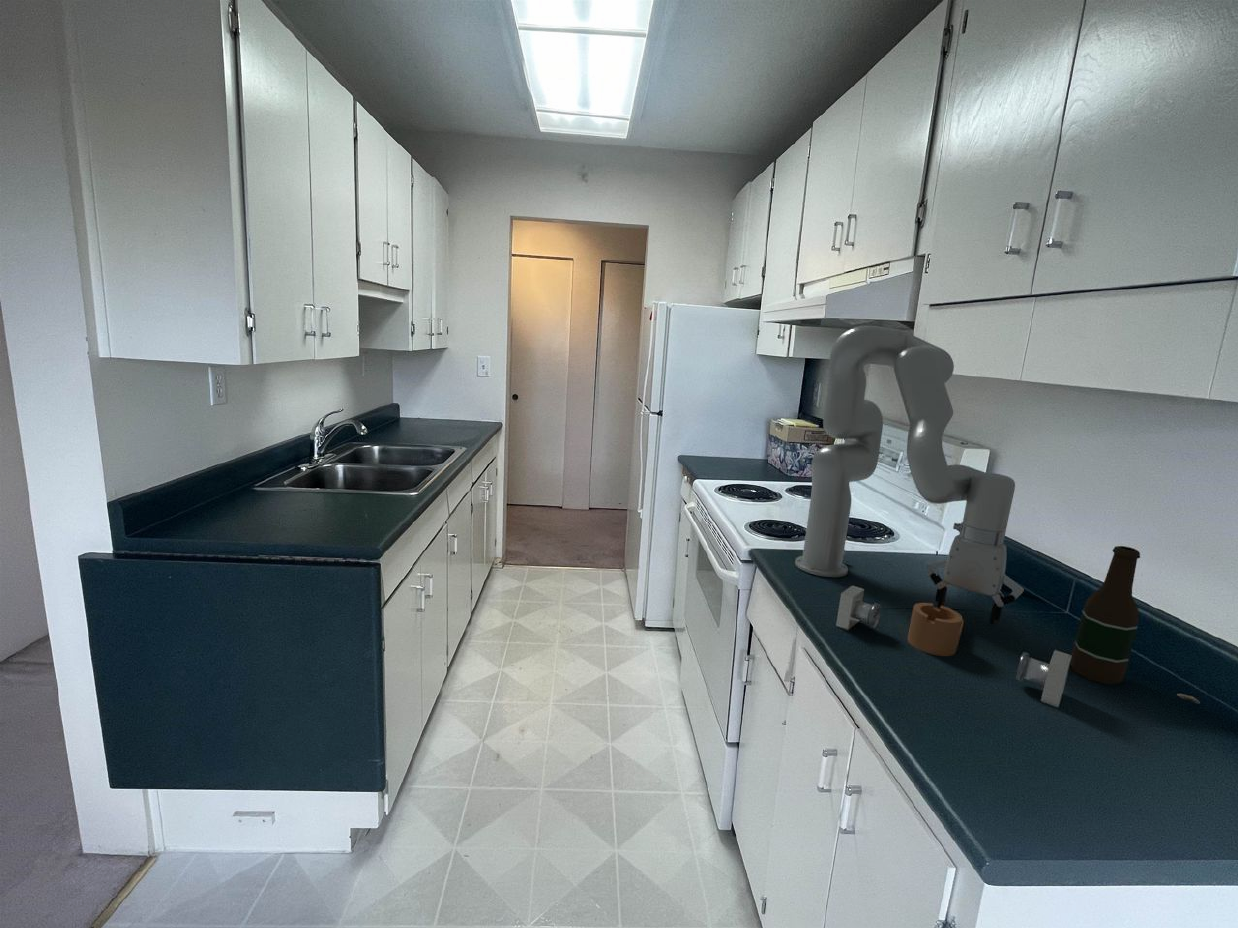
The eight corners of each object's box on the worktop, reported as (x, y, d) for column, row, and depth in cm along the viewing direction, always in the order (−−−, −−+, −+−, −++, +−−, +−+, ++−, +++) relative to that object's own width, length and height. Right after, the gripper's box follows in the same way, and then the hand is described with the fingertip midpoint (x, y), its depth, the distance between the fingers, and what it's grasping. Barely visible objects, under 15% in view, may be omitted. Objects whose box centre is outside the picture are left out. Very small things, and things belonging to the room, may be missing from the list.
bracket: (952, 661, 111) (959, 626, 110) (903, 646, 116) (910, 612, 114) (963, 627, 126) (969, 596, 124) (919, 614, 130) (925, 584, 129)
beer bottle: (1088, 683, 106) (1121, 554, 101) (1058, 660, 114) (1088, 539, 109) (1133, 688, 106) (1169, 558, 101) (1101, 664, 114) (1133, 542, 109)
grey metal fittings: (847, 616, 126) (852, 585, 125) (1062, 693, 103) (1072, 655, 101) (836, 625, 122) (841, 593, 120) (1058, 707, 98) (1068, 668, 97)
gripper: (930, 527, 124) (915, 605, 128) (1030, 550, 113) (1011, 635, 117) (939, 520, 130) (925, 595, 133) (1036, 542, 119) (1017, 623, 122)
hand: (965, 613), depth 125 cm, fingers open, 9 cm apart
